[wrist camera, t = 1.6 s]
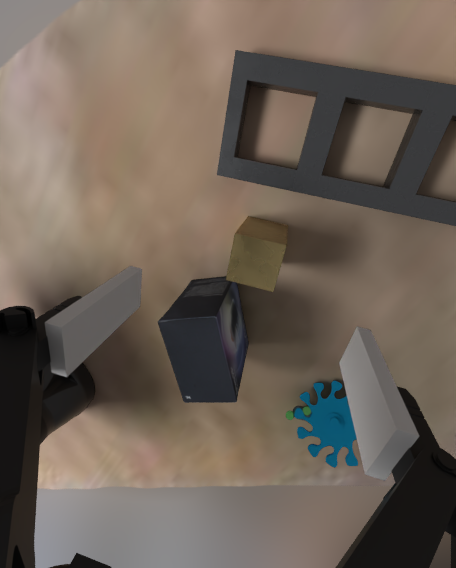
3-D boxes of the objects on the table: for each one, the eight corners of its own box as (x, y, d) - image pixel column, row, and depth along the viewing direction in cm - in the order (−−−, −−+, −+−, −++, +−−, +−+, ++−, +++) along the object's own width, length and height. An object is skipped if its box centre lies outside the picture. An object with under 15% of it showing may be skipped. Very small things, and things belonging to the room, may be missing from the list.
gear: (380, 388, 34) (378, 481, 31) (371, 389, 39) (369, 469, 36) (290, 371, 38) (280, 452, 35) (293, 374, 43) (285, 445, 40)
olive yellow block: (240, 253, 33) (225, 279, 25) (248, 216, 31) (234, 233, 24) (277, 262, 32) (273, 292, 25) (287, 225, 30) (286, 245, 23)
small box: (252, 344, 38) (239, 406, 28) (207, 346, 39) (181, 404, 30) (238, 273, 34) (218, 317, 24) (189, 279, 35) (153, 322, 26)
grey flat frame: (221, 174, 29) (216, 174, 28) (239, 58, 25) (235, 50, 23) (479, 228, 26) (493, 233, 25) (551, 108, 22) (574, 104, 20)
